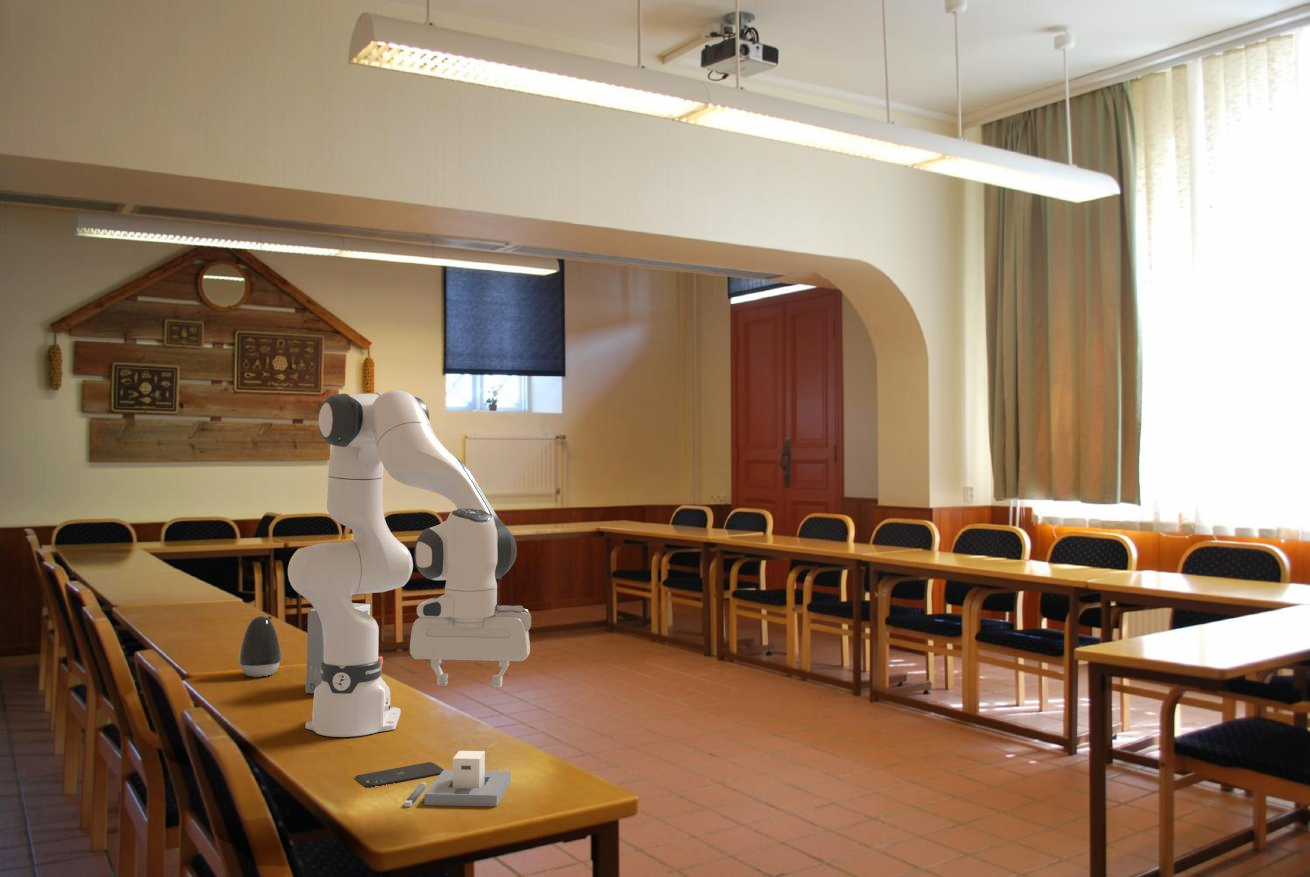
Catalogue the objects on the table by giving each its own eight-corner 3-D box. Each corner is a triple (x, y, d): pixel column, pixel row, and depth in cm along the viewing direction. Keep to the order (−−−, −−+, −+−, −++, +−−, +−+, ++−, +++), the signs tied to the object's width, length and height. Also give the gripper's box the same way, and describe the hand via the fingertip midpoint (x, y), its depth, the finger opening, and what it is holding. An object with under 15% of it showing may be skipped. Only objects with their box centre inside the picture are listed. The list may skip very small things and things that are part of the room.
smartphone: (448, 770, 189) (367, 785, 180) (448, 775, 188) (367, 790, 180) (431, 760, 195) (352, 774, 186) (431, 765, 195) (352, 779, 186)
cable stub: (420, 788, 181) (420, 781, 181) (427, 788, 181) (426, 781, 181) (403, 808, 171) (403, 800, 171) (411, 808, 171) (410, 800, 171)
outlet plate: (443, 779, 185) (443, 769, 185) (510, 781, 184) (510, 770, 184) (424, 805, 172) (424, 793, 172) (496, 806, 171) (496, 795, 171)
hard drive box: (331, 696, 246) (332, 612, 246) (304, 694, 248) (305, 610, 248) (370, 683, 260) (370, 603, 261) (344, 680, 263) (344, 601, 263)
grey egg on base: (288, 671, 273) (289, 613, 273) (269, 680, 263) (270, 619, 263) (251, 670, 274) (251, 612, 274) (231, 679, 264) (231, 618, 264)
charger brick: (458, 785, 180) (459, 750, 180) (484, 785, 180) (484, 751, 180) (452, 794, 176) (452, 758, 176) (479, 794, 176) (479, 759, 176)
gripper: (534, 602, 181) (533, 682, 181) (417, 600, 182) (416, 680, 182) (528, 608, 175) (527, 691, 175) (407, 606, 175) (406, 688, 175)
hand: (469, 685), depth 178 cm, fingers open, 8 cm apart
